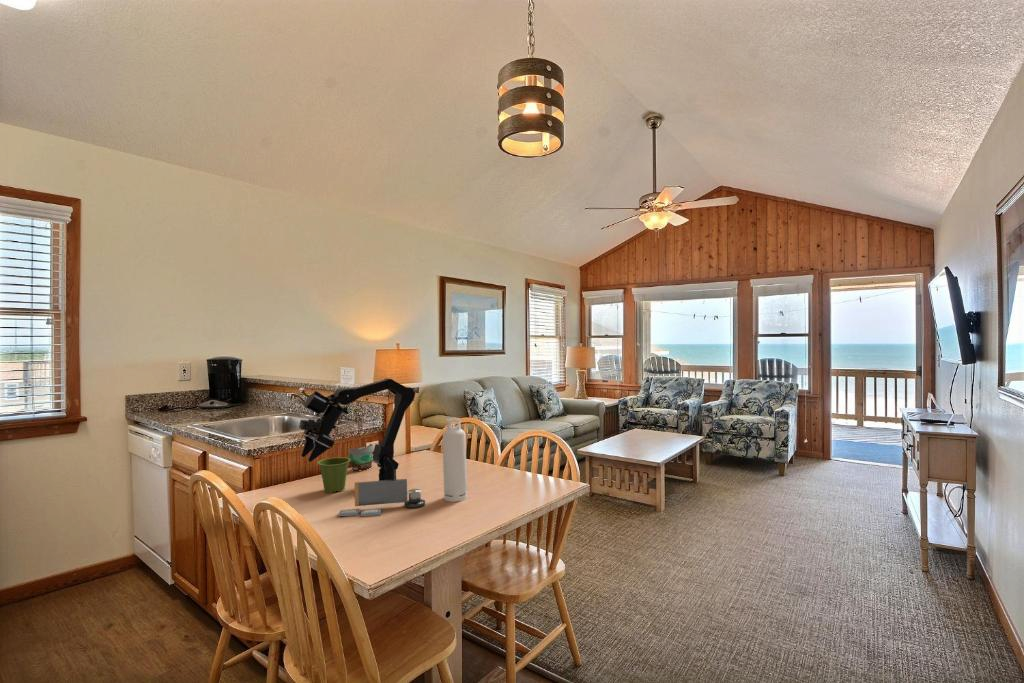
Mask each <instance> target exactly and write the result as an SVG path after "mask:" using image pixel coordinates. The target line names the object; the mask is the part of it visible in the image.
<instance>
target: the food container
mask: <svg viewBox="0 0 1024 683" xmlns="http://www.w3.org/2000/svg"><path fill="white" fill-rule="evenodd" d="M374 448H375V446H374V445H373V443H369V445H367V446H359V447H358V448H349V449H348V455H349V459H350V469H351V471H352V470H353V471H352V472H360V471H359V470H365V471H367V470H366V469H369V468H371V467H372V465H373V458H372V457H373V454H372V452H373V451H374ZM372 468H373V467H372ZM372 468H371V469H372ZM369 470H370V469H369Z"/></svg>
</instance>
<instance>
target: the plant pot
mask: <svg viewBox="0 0 1024 683" xmlns="http://www.w3.org/2000/svg"><path fill="white" fill-rule="evenodd" d="M350 463H351V460H350V457H345V456H343V457H339V456H338V457H330V458H329V457H327V458H324V459H321V460H318V461H317V464H318V466H319V470H320V474H321V478H322V479H321V480H322V484H323V490H324V492H325V493H329V492H333V493H335V492H336V491H340V492H342V491H344V490H345V488H346V481H347V475H348V468H349V464H350ZM343 489H344V490H343ZM341 490H342V491H341ZM336 493H337V492H336Z"/></svg>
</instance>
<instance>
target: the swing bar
mask: <svg viewBox="0 0 1024 683" xmlns="http://www.w3.org/2000/svg"><path fill="white" fill-rule="evenodd" d="M421 497H422V496H421V489H419V488H411V489H409V490H408V479H407V478H402V479H401V478H400V479H399V478H398V479H397V478H396V480H383V481H379V480H372V481H356V482H354V506H355V507H362V506H373V505H376V506H377V505H388V504H400V503H402V504H403V503H405V502H407V501H408V500H409V503H418V502H420V501H421V499H422V498H421Z"/></svg>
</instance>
